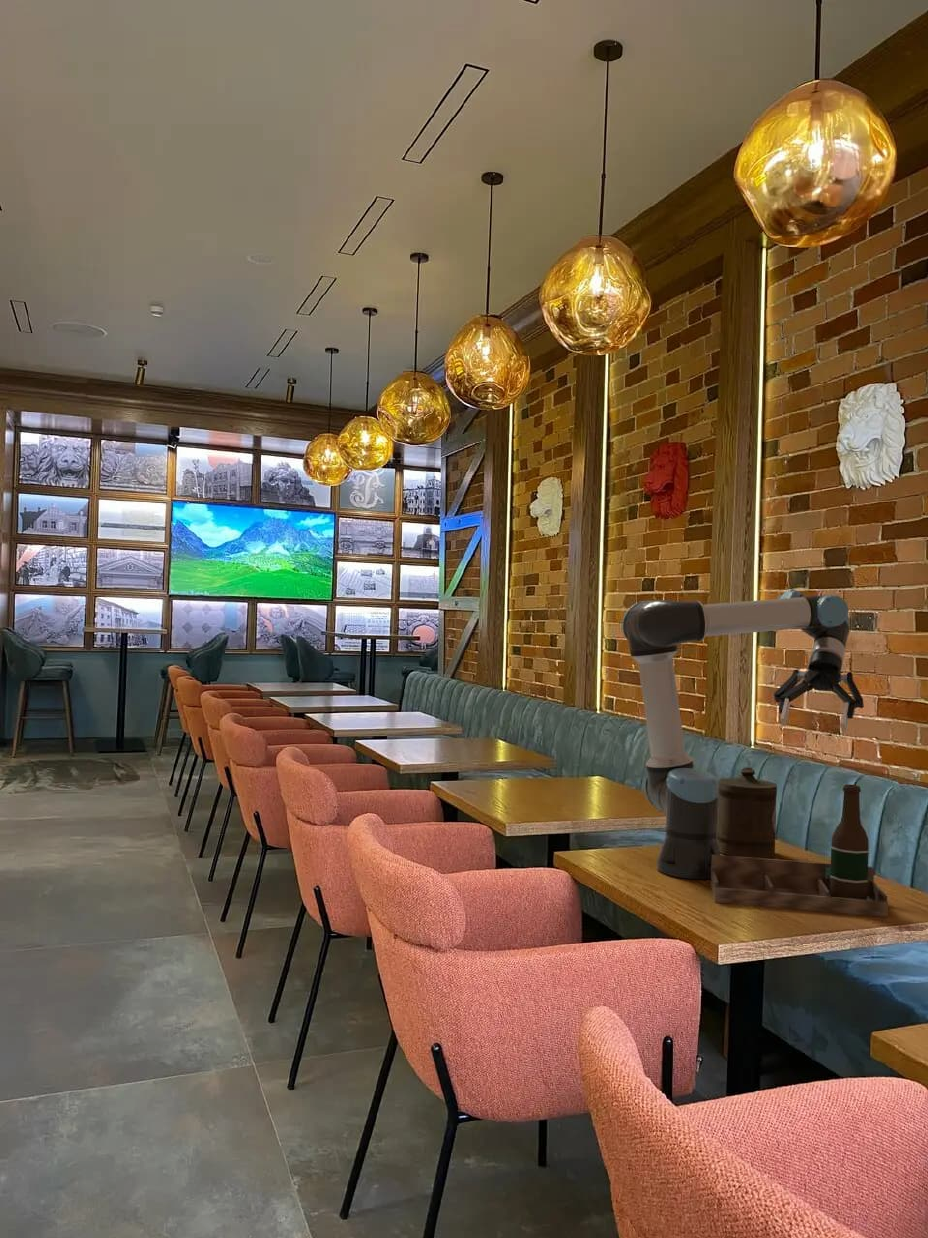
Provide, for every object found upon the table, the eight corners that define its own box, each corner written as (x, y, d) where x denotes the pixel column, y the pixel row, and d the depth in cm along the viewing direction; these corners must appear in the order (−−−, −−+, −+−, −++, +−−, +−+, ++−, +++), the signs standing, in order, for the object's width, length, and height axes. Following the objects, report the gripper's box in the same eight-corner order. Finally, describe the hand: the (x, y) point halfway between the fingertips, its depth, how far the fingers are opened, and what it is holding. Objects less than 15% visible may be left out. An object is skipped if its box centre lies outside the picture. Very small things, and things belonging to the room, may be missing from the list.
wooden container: (787, 857, 238) (790, 771, 239) (740, 861, 233) (742, 772, 233) (749, 844, 252) (751, 762, 252) (703, 847, 247) (706, 764, 247)
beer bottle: (823, 893, 201) (826, 781, 202) (860, 895, 201) (863, 783, 201) (836, 904, 194) (839, 787, 194) (874, 905, 193) (877, 789, 193)
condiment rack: (714, 902, 196) (715, 869, 196) (710, 886, 209) (711, 854, 209) (887, 917, 189) (888, 882, 190) (872, 899, 202) (873, 867, 202)
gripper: (881, 673, 228) (871, 739, 215) (776, 667, 241) (760, 730, 228) (879, 651, 224) (868, 718, 211) (772, 647, 237) (756, 710, 224)
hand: (812, 724), depth 220 cm, fingers open, 13 cm apart
